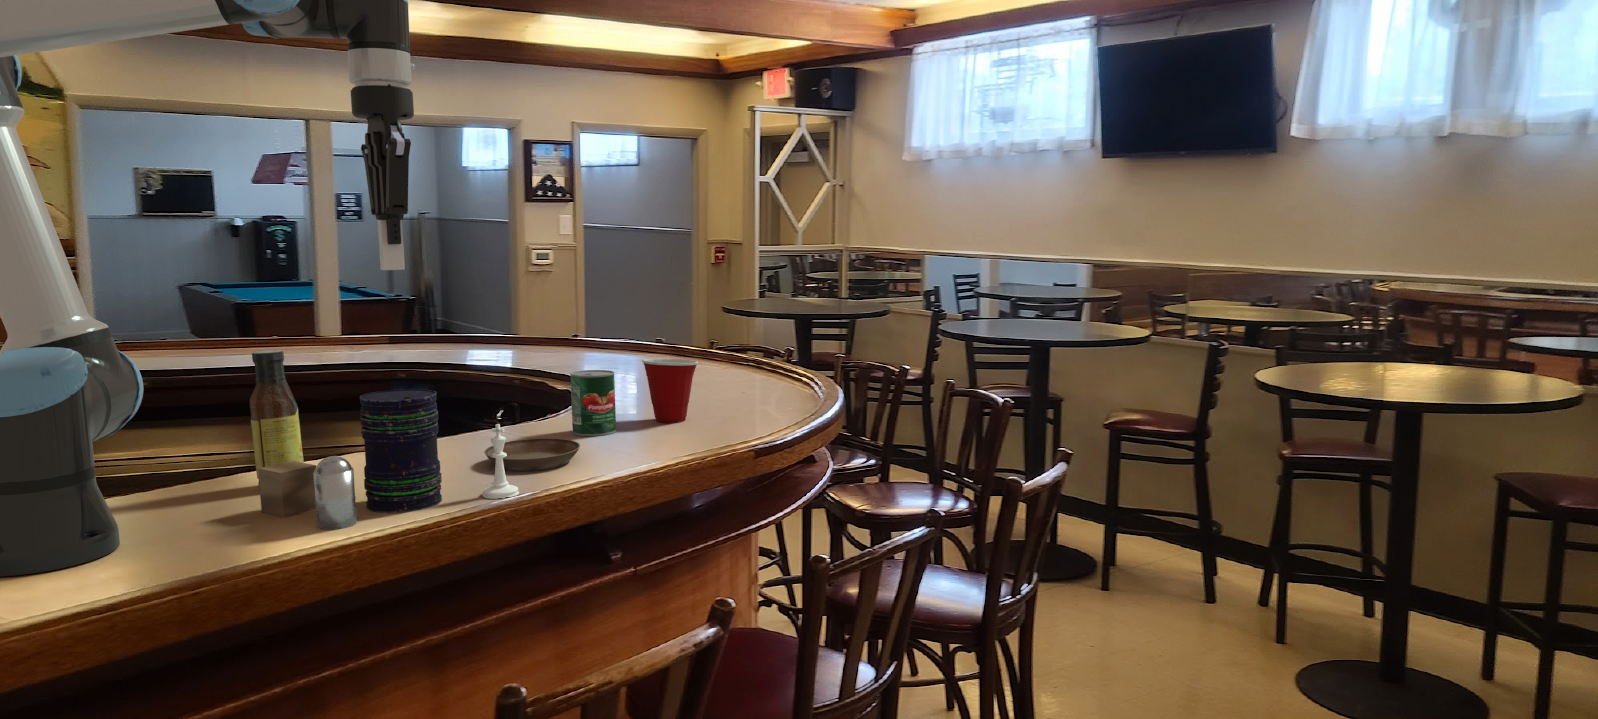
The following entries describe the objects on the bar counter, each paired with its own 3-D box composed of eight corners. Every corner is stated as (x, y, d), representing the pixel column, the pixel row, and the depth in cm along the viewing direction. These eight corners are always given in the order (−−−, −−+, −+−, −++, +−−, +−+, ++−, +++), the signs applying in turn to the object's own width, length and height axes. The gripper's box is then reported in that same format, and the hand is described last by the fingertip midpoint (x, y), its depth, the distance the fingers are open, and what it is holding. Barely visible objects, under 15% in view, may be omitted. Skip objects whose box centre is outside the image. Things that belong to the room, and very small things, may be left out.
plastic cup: (711, 419, 202) (710, 358, 200) (669, 427, 194) (668, 363, 192) (673, 413, 209) (672, 353, 207) (631, 420, 201) (629, 359, 199)
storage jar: (353, 503, 142) (346, 395, 140) (423, 490, 149) (417, 386, 147) (384, 517, 135) (377, 403, 133) (455, 502, 142) (450, 394, 140)
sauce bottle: (314, 482, 154) (305, 348, 151) (283, 493, 148) (273, 354, 145) (278, 480, 155) (268, 347, 153) (245, 490, 149) (234, 352, 147)
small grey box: (284, 518, 135) (280, 472, 134) (261, 512, 138) (258, 468, 137) (319, 509, 139) (316, 465, 139) (296, 504, 142) (293, 460, 141)
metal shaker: (322, 531, 129) (317, 462, 127) (312, 523, 132) (308, 455, 131) (361, 525, 131) (357, 456, 130) (350, 517, 135) (346, 450, 134)
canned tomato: (590, 426, 195) (588, 368, 194) (625, 430, 192) (623, 371, 190) (563, 434, 188) (561, 374, 187) (598, 438, 185) (596, 376, 183)
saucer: (509, 479, 156) (508, 462, 155) (470, 463, 167) (469, 446, 167) (597, 465, 165) (596, 448, 165) (554, 449, 176) (554, 434, 176)
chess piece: (508, 499, 143) (505, 428, 142) (475, 498, 144) (472, 427, 143) (525, 490, 148) (522, 421, 147) (493, 489, 149) (490, 420, 148)
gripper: (427, 83, 132) (438, 270, 135) (395, 94, 142) (405, 267, 145) (366, 79, 127) (378, 272, 130) (337, 90, 138) (349, 269, 141)
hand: (392, 269), depth 138 cm, fingers closed
